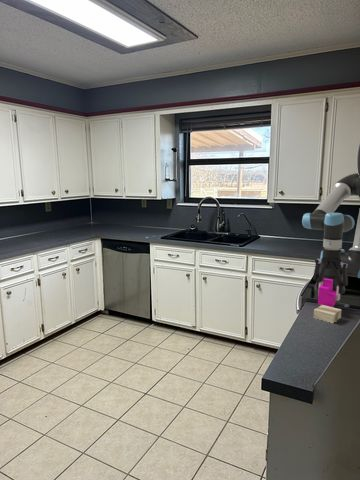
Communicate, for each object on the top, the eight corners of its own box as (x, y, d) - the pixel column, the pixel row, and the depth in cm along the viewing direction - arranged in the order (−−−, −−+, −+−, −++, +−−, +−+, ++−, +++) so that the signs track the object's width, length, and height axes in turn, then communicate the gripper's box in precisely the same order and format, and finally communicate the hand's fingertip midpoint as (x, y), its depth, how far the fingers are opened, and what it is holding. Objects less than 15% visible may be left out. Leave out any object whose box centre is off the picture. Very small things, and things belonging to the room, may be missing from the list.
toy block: (333, 306, 148) (334, 289, 147) (317, 304, 151) (318, 287, 150) (337, 295, 161) (339, 280, 160) (323, 293, 164) (324, 278, 163)
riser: (321, 315, 150) (322, 304, 149) (340, 321, 145) (341, 309, 144) (313, 321, 145) (313, 309, 144) (332, 326, 139) (333, 314, 138)
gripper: (306, 246, 158) (303, 294, 162) (353, 253, 144) (349, 305, 148) (313, 244, 163) (311, 290, 167) (359, 250, 149) (355, 301, 153)
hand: (328, 297), depth 158 cm, fingers closed on toy block, 7 cm apart
